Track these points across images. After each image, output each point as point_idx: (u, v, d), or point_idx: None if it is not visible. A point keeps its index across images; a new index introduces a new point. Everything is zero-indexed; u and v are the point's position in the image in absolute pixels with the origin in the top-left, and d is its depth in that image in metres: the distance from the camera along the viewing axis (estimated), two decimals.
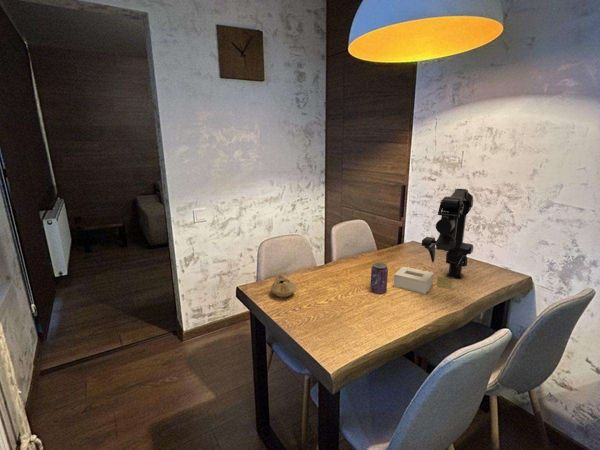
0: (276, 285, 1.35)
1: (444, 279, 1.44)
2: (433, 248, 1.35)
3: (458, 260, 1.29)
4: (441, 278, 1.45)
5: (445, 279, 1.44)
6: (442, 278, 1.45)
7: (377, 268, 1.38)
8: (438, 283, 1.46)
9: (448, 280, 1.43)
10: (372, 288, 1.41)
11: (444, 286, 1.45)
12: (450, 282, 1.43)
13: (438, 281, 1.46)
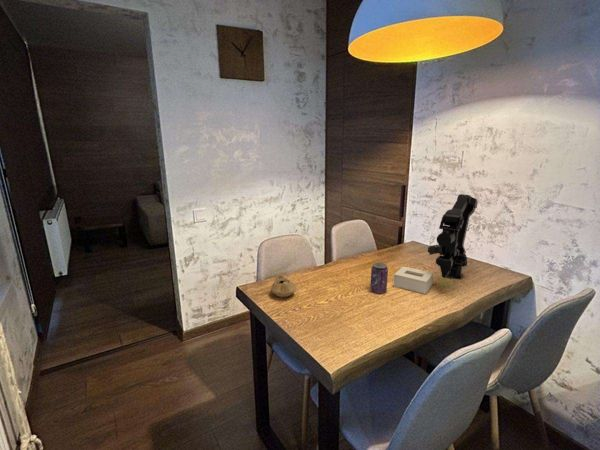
0: (276, 285, 1.35)
1: (444, 279, 1.44)
2: None
3: None
4: (441, 278, 1.45)
5: (445, 279, 1.44)
6: (442, 278, 1.45)
7: (377, 268, 1.38)
8: (438, 283, 1.46)
9: (448, 280, 1.43)
10: (372, 288, 1.41)
11: (444, 286, 1.45)
12: (450, 282, 1.43)
13: (438, 281, 1.46)
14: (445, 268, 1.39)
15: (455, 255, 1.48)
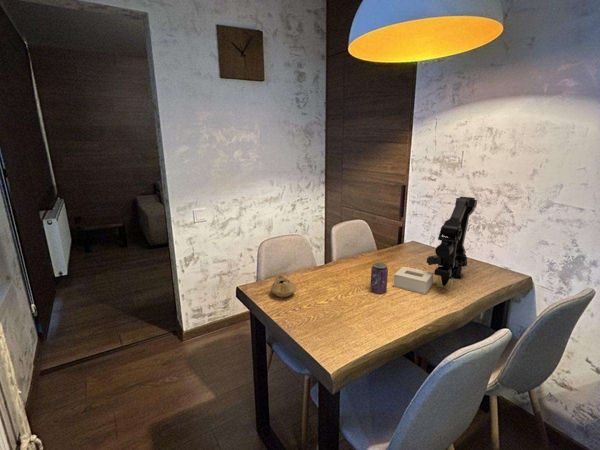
0: (276, 285, 1.35)
1: None
2: None
3: None
4: None
5: None
6: None
7: (377, 268, 1.38)
8: (438, 283, 1.46)
9: (448, 280, 1.43)
10: (372, 288, 1.41)
11: (444, 286, 1.45)
12: (450, 282, 1.43)
13: (438, 281, 1.46)
14: (445, 276, 1.42)
15: (452, 268, 1.47)
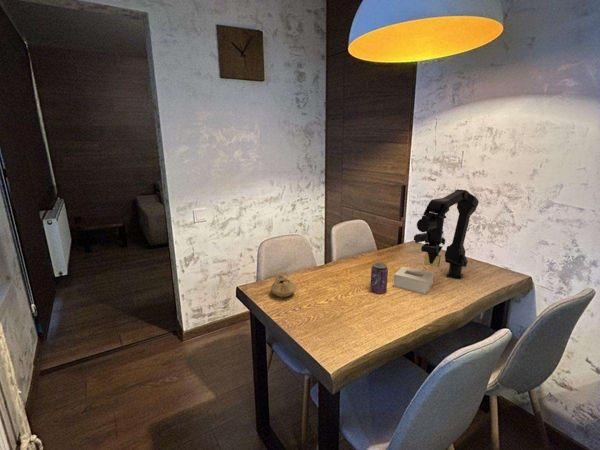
0: (276, 285, 1.35)
1: None
2: None
3: None
4: None
5: None
6: None
7: (377, 268, 1.38)
8: (426, 261, 1.44)
9: None
10: (372, 288, 1.41)
11: (431, 264, 1.43)
12: (437, 259, 1.41)
13: (425, 259, 1.44)
14: (432, 254, 1.40)
15: (439, 246, 1.45)
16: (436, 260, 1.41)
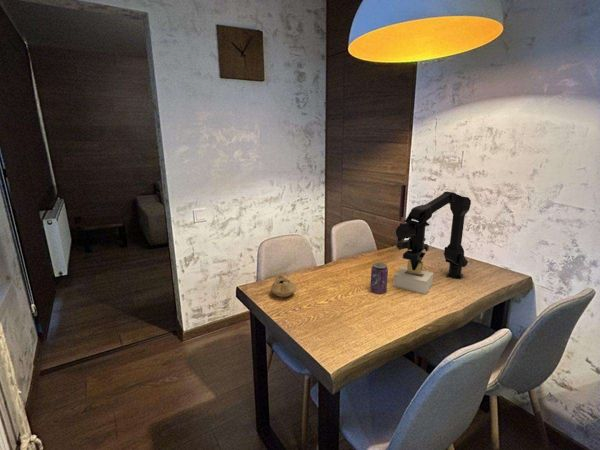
0: (276, 285, 1.35)
1: None
2: None
3: None
4: None
5: None
6: None
7: (377, 268, 1.38)
8: (409, 267, 1.46)
9: (418, 264, 1.43)
10: (372, 288, 1.41)
11: (414, 270, 1.45)
12: (420, 266, 1.43)
13: (408, 265, 1.46)
14: (415, 261, 1.42)
15: (422, 252, 1.47)
16: (418, 267, 1.43)
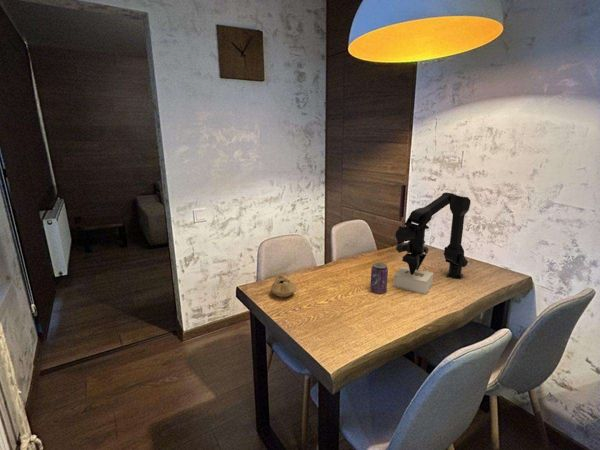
0: (276, 285, 1.35)
1: None
2: None
3: None
4: None
5: None
6: None
7: (377, 268, 1.38)
8: None
9: None
10: (372, 288, 1.41)
11: None
12: None
13: None
14: (413, 265, 1.41)
15: (423, 254, 1.49)
16: None
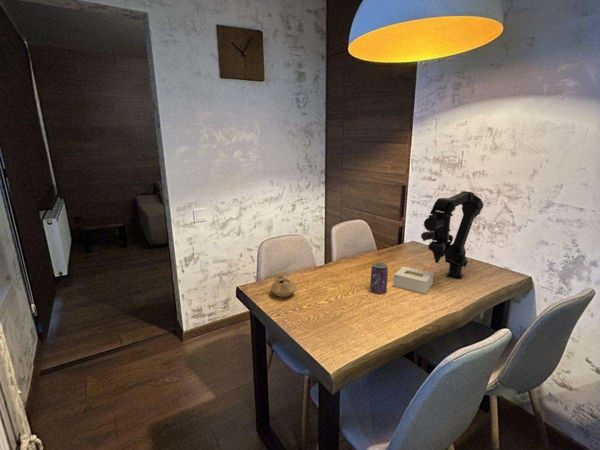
0: (276, 285, 1.35)
1: None
2: None
3: None
4: None
5: None
6: None
7: (377, 268, 1.38)
8: None
9: None
10: (372, 288, 1.41)
11: None
12: None
13: None
14: (438, 253, 1.41)
15: (449, 241, 1.51)
16: None
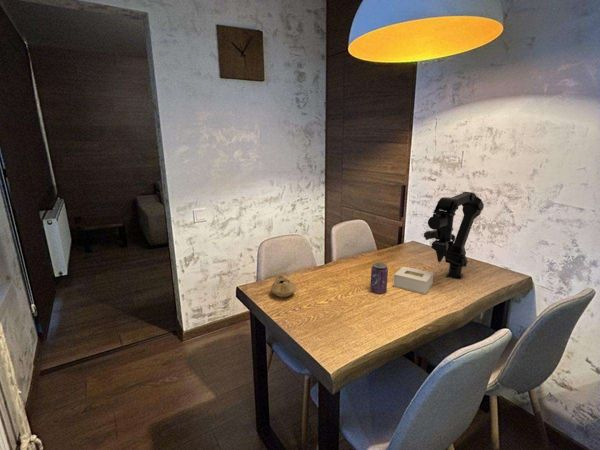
0: (276, 285, 1.35)
1: None
2: None
3: None
4: None
5: None
6: None
7: (377, 268, 1.38)
8: None
9: None
10: (372, 288, 1.41)
11: None
12: None
13: None
14: (441, 252, 1.41)
15: (451, 241, 1.51)
16: None
